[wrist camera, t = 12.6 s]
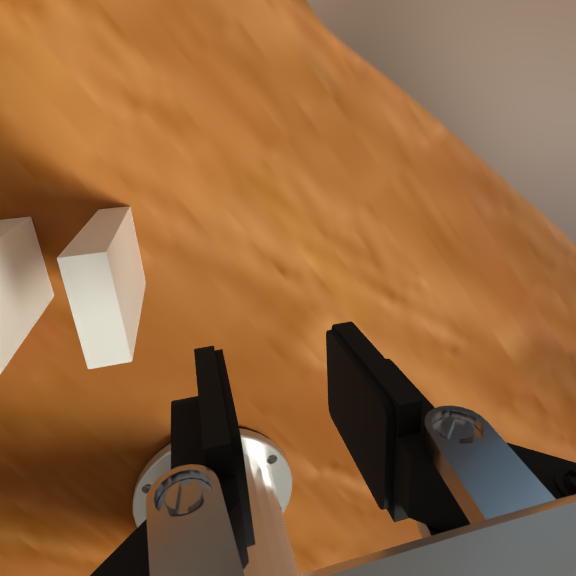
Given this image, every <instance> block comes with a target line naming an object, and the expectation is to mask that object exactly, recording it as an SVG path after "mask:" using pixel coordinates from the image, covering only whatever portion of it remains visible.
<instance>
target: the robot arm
mask: <svg viewBox="0 0 576 576" xmlns="http://www.w3.org/2000/svg"><path fill="white" fill-rule="evenodd" d="M326 346H327V376H328V405H329V412H330V415H331V418H332V420H333V422H334V424H335V426H336V427H337V429H338V431H339V433H340V435H341V437H342V439H343V441H344V442H345V444H346V446H347V448H348V450H349V452H350V454H351V456H352V457H353V459H354V461H355V463H356V465H357V467H358V469H359V471H360V472H361V474H362V476H363V478H364V480H365V482H366V484H367V486H368V487H369V489H370V491H371V493H372V495H373V497H374V499H375V501H376V502H377V504H378V506H379V508H380V509H382V510H383V509H387V510H388V512H389V514H390V515H391V517H392V519H393V521H394V522H397V521H400V520H404V519H407V518H411V519H414V520H416V521H417V525H418V528H419V531H420V534H421V536H422V538H423V539H419V540H416V541H412V542H409V543H406V544H402V545H399V546H396V547H392V548H389V549H385V550H382V551H379V552H375V553H372V554H369V555H365V556H362V557H359V558H355V559H352V560H349V561H345V562H342V563H338V564H335V565H332V566H329V567H325V568H322V569H319V570H315V571H312V572H309V573H305V574H302V575H299V572H298V568H297V565H296V561H295V557H294V554H293V550H292V547H291V543H290V539H289V536H288V532H287V529H286V525H285V521H284V518H283V513H284V511H285V509H286V507H287V505H288V503H289V500H290V496H291V492H292V476H291V471H290V468H289V465H288V462H287V460H286V457H285V456H284V454H283V453H282V451H281V450H280V448H279V447H278V446H277V445H276V444H275V443H273V442H272V441H271V440H270V439H268V438H266V437H265V436H263V435H261V434H259V433H256V432H253V431H250V430H247V429H241V428H239V426H238V421H237V416H236V412H235V407H234V402H233V398H232V393H231V388H230V383H229V379H228V374H227V369H226V365H225V360H224V355H223V351H222V349H221V350H216V351H215V350H214V346H209V347H203V348H198V349H194V353H195V364H196V375H197V386H198V396H196V397H191V398H186V399H181V400H175V401H172V402H171V443H170V444H169V445H167V446H166V447H165V448H163V449H162V450H160V451H159V452H158V453H157V454H156V455H155V456H154V457H153V458H152V459H151V460H150V461H149V462H148V463H147V464H146V466H145V468H144V469H143V471H142V472H141V474H140V475H139V478H138V480H137V483H136V486H135V490H134V497H133V516H134V520H135V523H136V526H137V527H138V528H137V529H136V530H135V531H134V532H133V533H132V534H131V535H130V536H129V537H128V538H127V539H126V540H125V541H124V542H123V543H122V544H121V545H120V546H119V547H118V548H117V549H116V550H115V551H114V552H113V553H112V554H111V555H110V556H109V557H108V558H107V559H106V560H105V561H104V562H103V563H102V564H101V565H100V566H99V567H98V568H97V569H96V570H95V571H94V572H93V573H92V574H91V575H90V576H576V463H575V462H571V461H568V460H564V459H561V458H558V457H554V456H551V455H547V454H544V453H540V452H537V451H534V450H530V449H527V448H523V447H520V446H516V445H513V444H510V443H506V442H505V441H504V440H503V439H502V437H501V436H500V435H499V434H498V433H497V432H496V431H495V429H494V428H493V427H492V426H491V425H490V424H489V423H488V422H487V421H486V420H485V419H484V418H483V417H482V416H481V415H479V414H477V413H476V412H474V411H472V410H469V409H466V408H463V407H458V406H440V407H437V408H434V406H433V405H432V404H431V403H430V402H429V401H428V400H427V399H426V398H425V397H424V396H423V394H422V393H421V392H420V391H419V390H418V389H417V388H416V387H415V386H414V385H413V384H412V382H411V381H410V380H409V379H408V378H407V377H406V376H405V375H404V374H403V373H402V371H401V370H400V369H399V368H398V367H397V366H396V365H395V364H394V363H393V362H392V361H391V360H390V359H385V358H384V357H383V356H382V355H381V353H380V352H379V351H378V350H377V349H376V348H375V347H374V346H373V345H372V343H371V342H370V341H369V340H368V339H367V338H366V337H365V336H364V334H363V333H362V332H361V331H360V330H359V329H358V328H357V327H356V326H355V324H354V323H353V322H346V323H340V324H334V325H333V326H332V330H328V331H327V333H326Z"/></svg>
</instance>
